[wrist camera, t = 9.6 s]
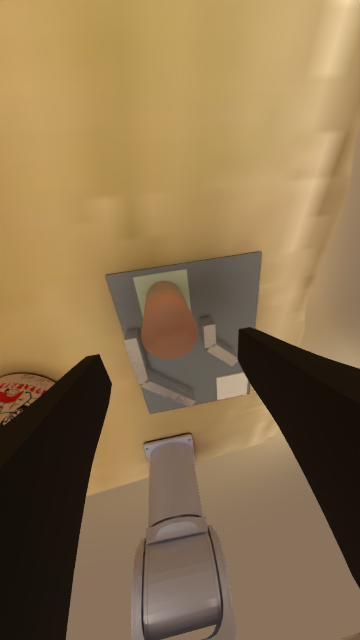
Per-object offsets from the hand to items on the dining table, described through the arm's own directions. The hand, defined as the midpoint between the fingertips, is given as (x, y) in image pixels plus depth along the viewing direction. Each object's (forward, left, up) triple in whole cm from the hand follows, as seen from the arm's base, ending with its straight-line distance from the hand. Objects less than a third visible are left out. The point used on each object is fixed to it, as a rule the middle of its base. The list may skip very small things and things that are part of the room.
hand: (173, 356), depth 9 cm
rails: (-9, -1, -9) cm, 13 cm away
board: (-7, -3, -10) cm, 12 cm away
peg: (0, 0, -9) cm, 9 cm away
